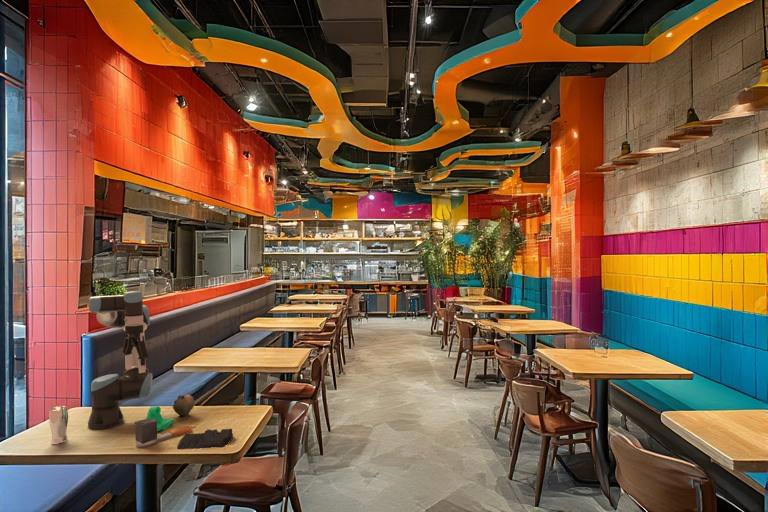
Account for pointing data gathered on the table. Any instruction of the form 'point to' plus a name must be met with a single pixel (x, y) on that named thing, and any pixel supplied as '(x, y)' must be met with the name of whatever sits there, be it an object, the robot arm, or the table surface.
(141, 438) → the brushed brown cube
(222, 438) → the dark slate chunk
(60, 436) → the beer glass
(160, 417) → the camera mount
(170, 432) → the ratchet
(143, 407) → the table surface
